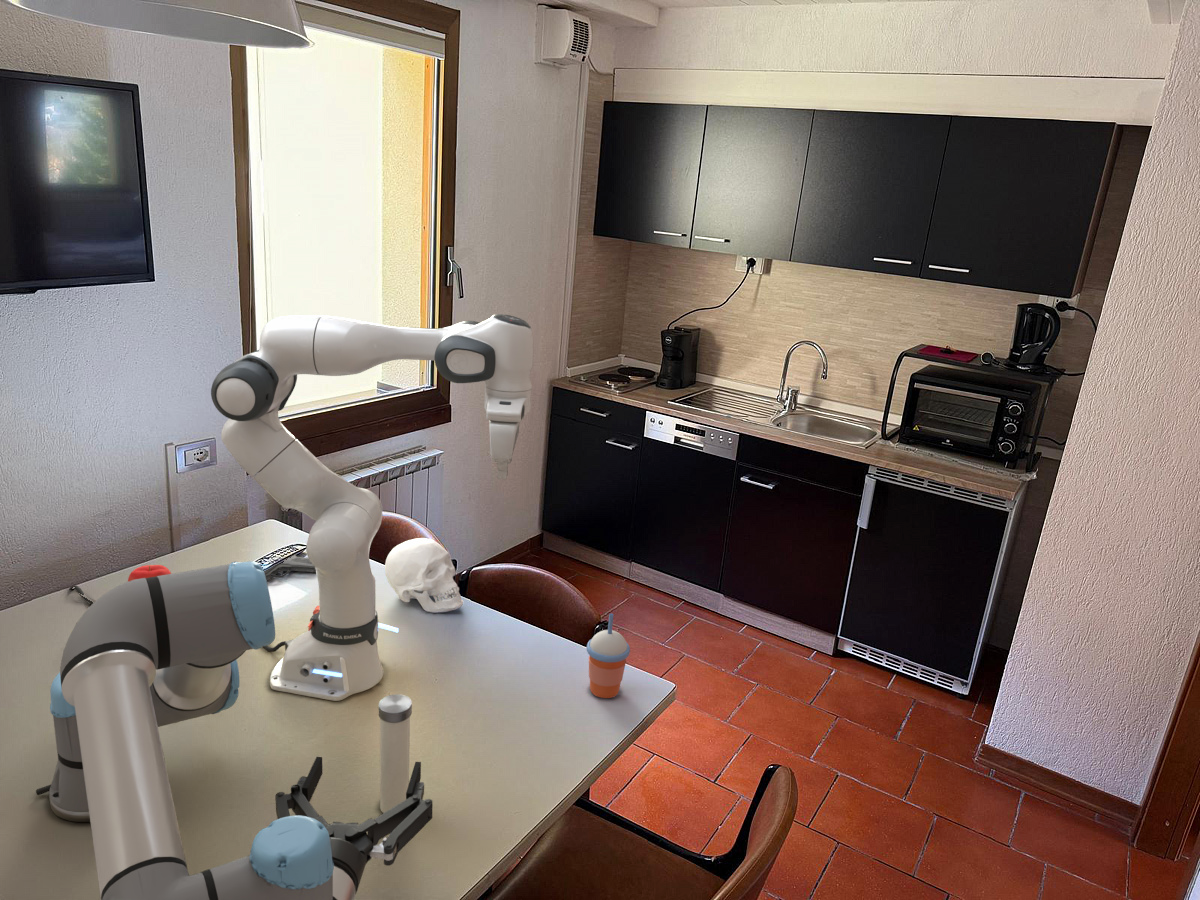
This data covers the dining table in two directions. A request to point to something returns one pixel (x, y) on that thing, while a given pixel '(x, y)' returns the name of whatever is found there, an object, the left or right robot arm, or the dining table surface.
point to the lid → (395, 708)
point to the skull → (423, 575)
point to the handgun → (290, 567)
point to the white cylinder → (394, 763)
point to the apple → (148, 572)
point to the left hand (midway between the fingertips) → (369, 767)
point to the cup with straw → (607, 661)
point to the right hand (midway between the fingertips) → (504, 470)
